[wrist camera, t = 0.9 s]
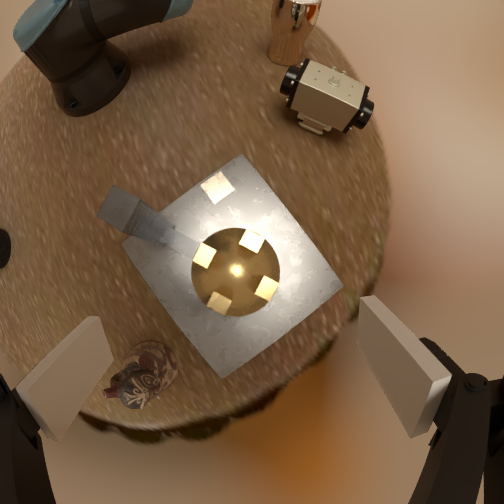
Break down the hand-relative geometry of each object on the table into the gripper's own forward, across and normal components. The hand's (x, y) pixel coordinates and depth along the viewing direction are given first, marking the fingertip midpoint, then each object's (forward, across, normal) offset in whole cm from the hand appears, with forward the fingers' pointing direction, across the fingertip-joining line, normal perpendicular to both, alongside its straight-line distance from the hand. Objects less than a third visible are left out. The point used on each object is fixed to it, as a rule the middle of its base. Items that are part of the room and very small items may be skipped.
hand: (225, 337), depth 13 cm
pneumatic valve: (+31, +12, +16) cm, 37 cm away
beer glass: (+35, +10, +30) cm, 48 cm away
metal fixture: (+21, -4, -1) cm, 22 cm away
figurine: (+19, -14, -15) cm, 28 cm away
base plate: (+24, -2, -3) cm, 24 cm away
